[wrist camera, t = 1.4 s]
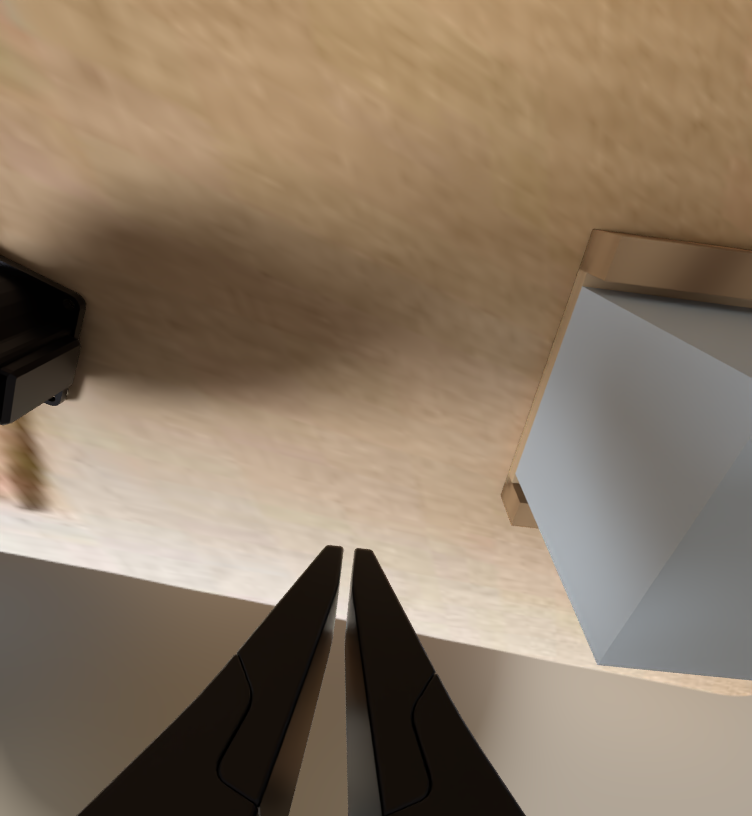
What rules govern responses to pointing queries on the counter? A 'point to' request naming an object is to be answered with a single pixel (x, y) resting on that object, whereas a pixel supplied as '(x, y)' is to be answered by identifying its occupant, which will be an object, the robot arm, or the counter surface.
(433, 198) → the counter surface
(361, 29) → the counter surface
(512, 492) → the chute
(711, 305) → the block
